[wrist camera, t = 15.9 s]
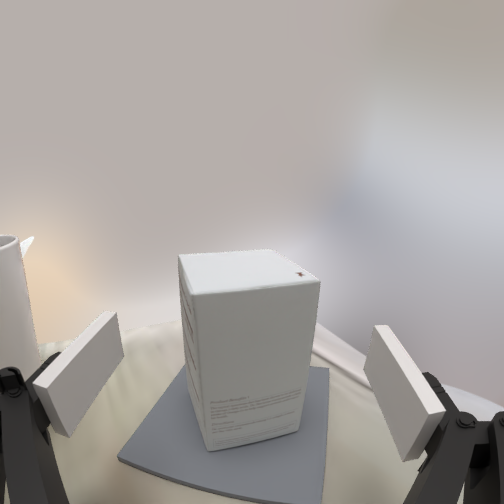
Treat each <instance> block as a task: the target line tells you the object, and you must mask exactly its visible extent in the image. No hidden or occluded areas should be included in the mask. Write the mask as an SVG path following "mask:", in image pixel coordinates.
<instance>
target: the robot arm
mask: <svg viewBox="0 0 504 504" xmlns="http://www.w3.org/2000/svg"><path fill="white" fill-rule="evenodd" d="M123 357H124V353H123V348H122V342H121V337H120V331H119V325H118V319H117V313H116V312H108V311H103V313H101V314H100V315H99V316H98V317H97V318H96V319H95V320H94V321H93V322H92V323H91V324H90V325H89V326H88V327H87V328H86V329H85V330H84V331H83V332H82V333H81V334H80V335H79V336H78V337H77V338H76V339H75V340H74V341H73V342H72V343H71V344H70V345H69V346H68V347H67V348H66V349H65V350H64V351H63V352H57V353H55V354H54V355H52V356H50V357H49V358H48V359H47V360H46V361H45V362H44V364H42V365H41V366H40V367H39V368H38V369H37V370H36V371H35V372H34V373H33V374H32V375H31V376H30V377H29V378H28V379H27V380H26V381H24V379H23V376H22V374H21V371H20V370H19V369H18V368H16V367H5V368H2V369H1V370H0V504H4V494H5V482H6V481H7V487H8V493H9V499H10V504H69V501H68V498H67V495H66V492H65V489H64V486H63V483H62V480H61V477H60V473H59V470H58V466H57V463H56V459H55V455H54V451H53V447H52V443H51V439H50V434H49V432H48V430H47V427H48V426H49V425H50V423H51V425H52V427H53V429H54V431H55V432H56V433H58V434H61V435H63V436H66V437H69V438H70V436H71V435H72V433H73V431H74V430H75V428H76V427H77V425H78V424H79V422H80V421H81V419H82V418H83V416H84V415H85V413H86V412H87V410H88V409H89V407H90V406H91V404H92V403H93V401H94V400H95V398H96V397H97V395H98V394H99V392H100V391H101V389H102V388H103V386H104V385H105V383H106V382H107V380H108V379H109V377H110V376H111V375H112V373H113V372H114V370H115V369H116V367H117V366H118V364H119V363H120V362H121V360H122V359H123ZM363 370H364V372H365V374H366V376H367V378H368V381H369V383H370V385H371V388H372V390H373V392H374V394H375V397H376V399H377V401H378V404H379V406H380V408H381V411H382V413H383V415H384V418H385V420H386V423H387V425H388V427H389V430H390V432H391V435H392V437H393V440H394V442H395V444H396V447H397V449H398V452H399V454H400V457H401V460H402V462H405V461H409V460H414V459H418V458H419V457H420V456H421V454H422V452H423V451H424V449H425V451H426V453H427V455H428V456H427V458H426V459H425V461H424V462H423V464H422V465H421V467H420V468H419V469H418V471H419V474H418V476H417V478H416V480H415V482H414V484H413V486H412V488H411V490H410V491H409V493H408V495H407V497H406V499H405V501H404V503H403V504H457V502H458V499H459V496H460V493H461V490H462V487H463V484H464V499H463V504H504V411H502V412H498V413H496V414H495V416H494V417H493V419H492V421H477V419H476V418H475V417H474V416H473V415H472V414H470V413H467V412H462V411H461V412H460V411H459V410H458V409H457V407H456V406H455V404H454V403H453V401H452V400H451V398H450V397H449V395H448V394H447V393H445V390H444V388H443V387H441V384H440V383H439V381H438V380H437V378H435V377H434V376H433V375H431V374H430V373H429V372H425V373H421V372H420V371H419V369H418V367H417V366H416V365H415V363H414V362H413V360H412V359H411V357H410V356H409V354H408V353H407V352H406V350H405V349H404V347H403V346H402V345H401V343H400V342H399V340H398V339H397V337H396V336H395V335H394V333H393V332H392V331H391V329H390V328H389V327H388V325H376V326H374V328H373V333H372V337H371V342H370V346H369V350H368V354H367V358H366V362H365V366H364V369H363ZM464 481H465V483H464Z"/></svg>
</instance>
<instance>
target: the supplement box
mask: <svg viewBox="0 0 504 504" xmlns="http://www.w3.org/2000/svg"><path fill="white" fill-rule="evenodd" d="M178 271H179V288H180V303H181V315H182V327H183V340H184V352H185V364H186V375H187V384H188V391H189V394H190V397H191V401H192V404H193V407H194V411H195V414H196V417H197V421H198V424H199V427H200V430H201V433H202V437H203V440H204V443H205V446H206V448H207V451H209V452H210V451H216V450H221V449H226V448H231V447H236V446H241V445H245V444H250V443H254V442H258V441H262V440H266V439H270V438H274V437H278V436H281V435H285V434H288V433H292V432H295V431H298V430H299V425H300V419H301V414H302V409H303V403H304V397H305V392H306V386H307V380H308V373H309V367H310V361H311V354H312V346H313V339H314V332H315V325H316V317H317V308H318V300H319V292H320V280H319V279H317V278H316V277H315V276H314V275H312V274H310V273H309V272H308V271H306V270H305V269H303V268H302V267H300V266H298V265H297V264H295V263H293V262H292V261H290V260H289V259H287V258H285V257H284V256H282V255H281V254H279V253H277V252H276V251H274V250H272V249H262V250H247V251H231V252H215V253H199V254H179V255H178Z"/></svg>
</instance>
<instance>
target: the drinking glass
mask: <svg viewBox="0 0 504 504" xmlns="http://www.w3.org/2000/svg"><path fill="white" fill-rule="evenodd" d="M41 365H42V361H41V357H40V353H39V349H38V345H37V340H36V335H35V330H34V324H33V319H32V313H31V307H30V300H29V294H28V288H27V282H26V276H25V271H24V265H23V260H22V254H21V249H20V243H19V238H18V237H17V236H14V235H0V370H1V369H2V368H5V367H16V368H18V369H19V370H20V371H21V374H22V376H23V379H24V381H26V380H27V379H28V378H29V377H30V376H31V375H32V374H33V373H34V372H35V371H36V370H37V369H38V368H39V367H40V366H41Z"/></svg>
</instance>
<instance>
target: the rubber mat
mask: <svg viewBox="0 0 504 504" xmlns="http://www.w3.org/2000/svg"><path fill="white" fill-rule="evenodd" d="M328 398H329V368H323V367H313V366H310V367H309V373H308V380H307V386H306V392H305V397H304V403H303V409H302V414H301V419H300V425H299V430H298V431H295V432H292V433H288V434H285V435H281V436H278V437H274V438H270V439H266V440H262V441H258V442H254V443H250V444H245V445H241V446H236V447H231V448H226V449H221V450H216V451H210V452H209V451H207V448H206V446H205V443H204V440H203V437H202V433H201V430H200V427H199V424H198V421H197V417H196V414H195V411H194V407H193V404H192V401H191V397H190V394H189V391H188V384H187V375H186V364H185V365H184V366H183V368H182V369H181V370H180V372H179V373H178V375H177V376H176V377H175V379H174V380H173V381H172V383H171V384H170V385H169V387H168V388H167V389H166V391H165V392H164V394H163V395H162V396H161V398H160V399H159V400H158V402H157V403H156V404H155V406H154V407H153V408H152V410H151V411H150V412H149V414H148V415H147V416H146V418H145V419H144V420H143V422H142V423H141V424H140V426H139V427H138V428H137V430H136V431H135V432H134V434H133V435H132V436H131V438H130V439H129V440H128V442H127V443H126V444H125V446H124V447H123V448H122V450H121V451H120V452H119V454H118V455H117V458H118V460H119V461H121V462H123V463H126V464H128V465H130V466H133V467H135V468H138V469H140V470H143V471H145V472H148V473H150V474H153V475H156V476H159V477H161V478H164V479H167V480H170V481H173V482H176V483H179V484H182V485H186V486H189V487H192V488H196V489H199V490H203V491H207V492H211V493H215V494H219V495H223V496H227V497H232V498H236V499H241V500H246V501H252V502H257V503H264V504H321V499H322V490H323V480H324V468H325V456H326V441H327V423H328Z"/></svg>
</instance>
